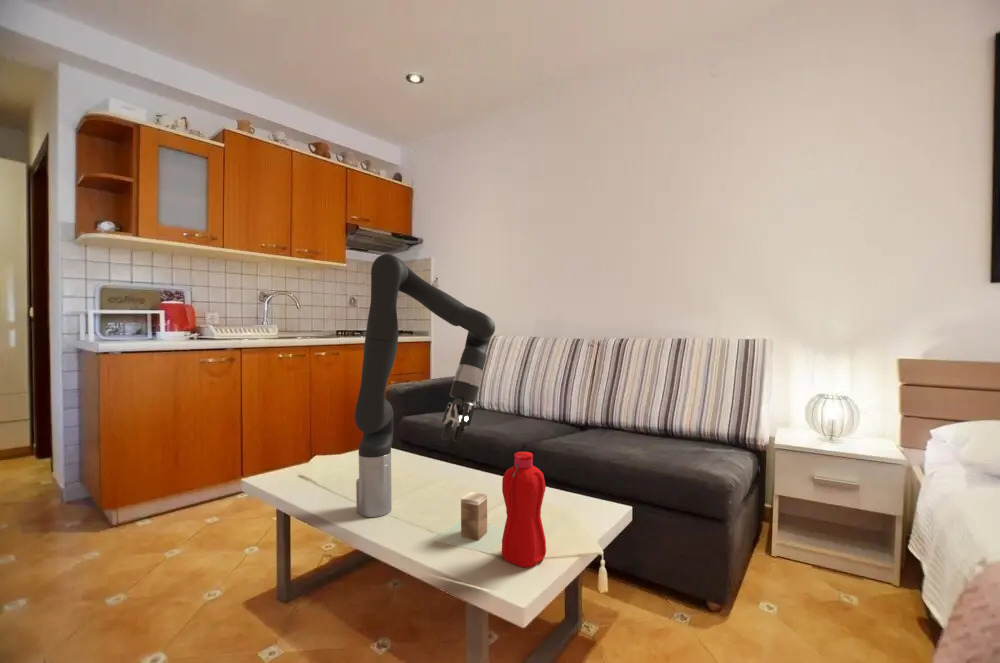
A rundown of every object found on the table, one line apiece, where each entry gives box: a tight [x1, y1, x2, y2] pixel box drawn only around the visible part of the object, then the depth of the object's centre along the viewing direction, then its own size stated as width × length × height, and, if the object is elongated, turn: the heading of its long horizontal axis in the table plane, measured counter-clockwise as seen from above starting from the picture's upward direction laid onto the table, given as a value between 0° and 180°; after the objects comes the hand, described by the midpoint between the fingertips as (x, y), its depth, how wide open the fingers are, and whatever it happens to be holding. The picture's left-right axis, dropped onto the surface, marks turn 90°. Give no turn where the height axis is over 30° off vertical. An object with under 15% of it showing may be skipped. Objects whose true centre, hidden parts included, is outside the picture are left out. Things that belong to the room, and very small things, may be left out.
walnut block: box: [460, 491, 488, 541], centre depth 119 cm, size 5×5×10 cm
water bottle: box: [501, 451, 547, 568], centre depth 107 cm, size 9×11×25 cm
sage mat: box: [433, 518, 505, 555], centre depth 119 cm, size 16×14×1 cm
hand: (450, 440), depth 124 cm, fingers open, 8 cm apart
